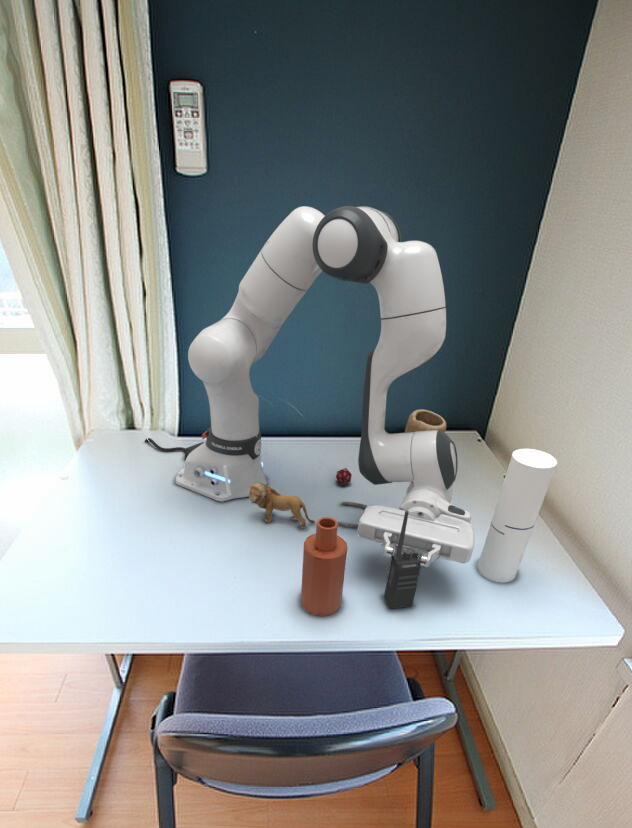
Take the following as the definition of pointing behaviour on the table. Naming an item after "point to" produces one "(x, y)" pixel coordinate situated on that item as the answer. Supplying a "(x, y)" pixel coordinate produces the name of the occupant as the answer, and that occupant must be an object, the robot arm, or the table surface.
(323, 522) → the bottle
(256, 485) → the lion figurine
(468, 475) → the table surface
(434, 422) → the stone cup
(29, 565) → the table surface
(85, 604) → the table surface
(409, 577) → the walkie-talkie
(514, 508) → the cylindrical container
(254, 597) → the table surface
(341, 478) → the dice
